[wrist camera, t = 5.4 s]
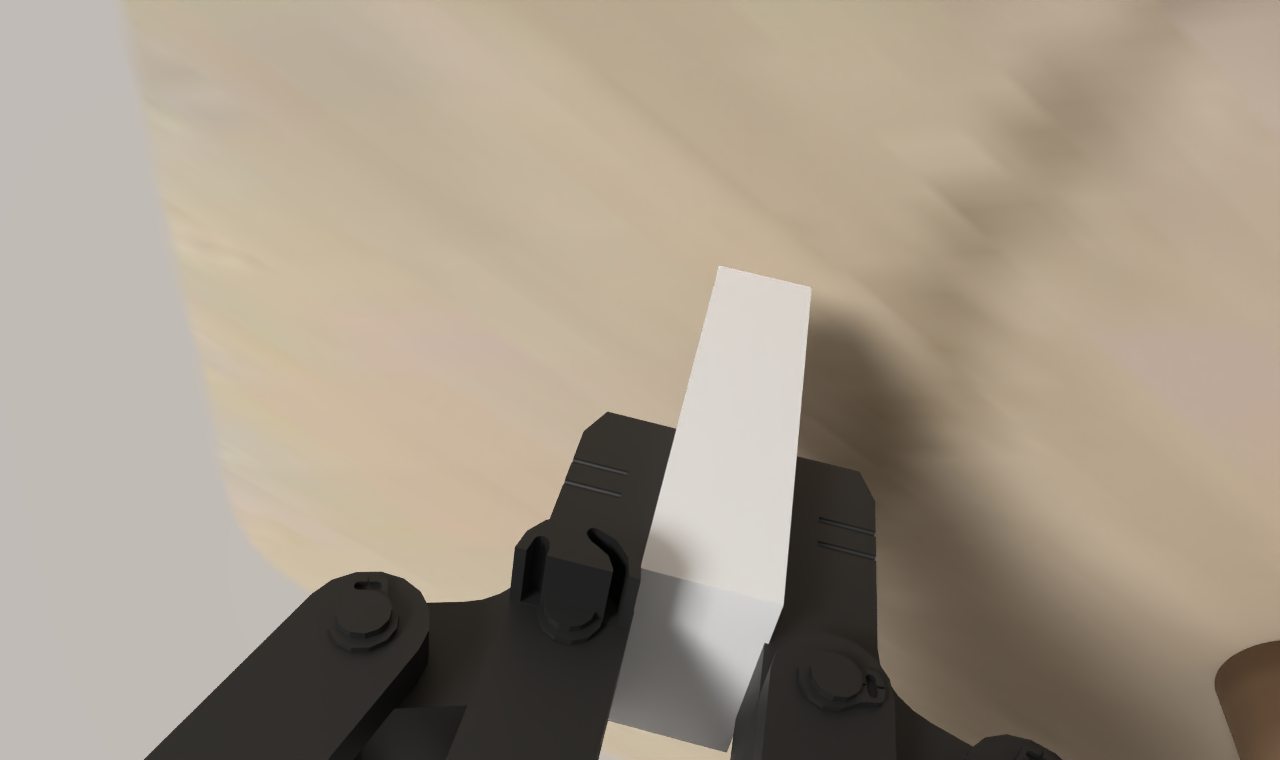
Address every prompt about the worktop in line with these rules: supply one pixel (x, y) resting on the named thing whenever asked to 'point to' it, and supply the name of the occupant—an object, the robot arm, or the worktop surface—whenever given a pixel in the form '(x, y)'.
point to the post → (1252, 700)
